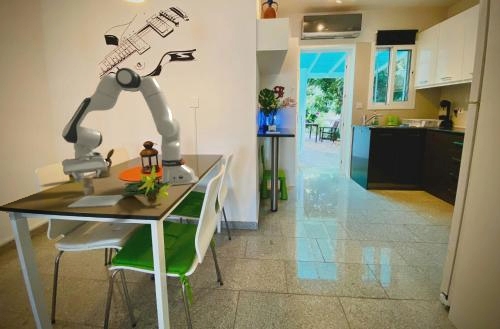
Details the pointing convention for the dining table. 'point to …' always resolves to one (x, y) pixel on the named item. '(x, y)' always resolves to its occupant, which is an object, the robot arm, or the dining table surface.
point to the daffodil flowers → (147, 186)
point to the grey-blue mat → (97, 201)
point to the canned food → (78, 177)
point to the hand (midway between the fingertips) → (87, 178)
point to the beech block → (88, 185)
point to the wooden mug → (107, 172)
